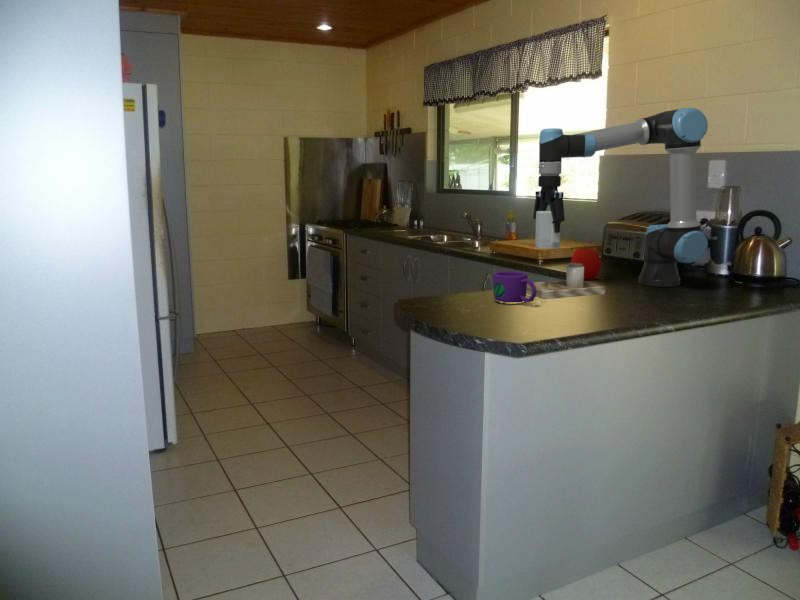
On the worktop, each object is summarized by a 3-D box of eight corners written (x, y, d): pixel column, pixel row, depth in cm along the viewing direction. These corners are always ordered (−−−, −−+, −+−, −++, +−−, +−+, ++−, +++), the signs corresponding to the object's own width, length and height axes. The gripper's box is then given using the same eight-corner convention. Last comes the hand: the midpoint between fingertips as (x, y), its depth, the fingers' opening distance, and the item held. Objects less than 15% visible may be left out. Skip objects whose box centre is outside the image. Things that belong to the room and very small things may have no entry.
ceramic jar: (576, 289, 237) (577, 262, 235) (586, 291, 231) (587, 264, 229) (562, 290, 235) (563, 263, 233) (572, 293, 229) (573, 265, 227)
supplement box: (560, 248, 222) (561, 212, 220) (538, 249, 222) (540, 212, 220) (555, 246, 230) (556, 210, 227) (534, 246, 230) (535, 210, 227)
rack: (575, 288, 244) (575, 279, 243) (604, 296, 227) (605, 287, 227) (516, 293, 235) (517, 283, 235) (543, 302, 219) (543, 292, 218)
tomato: (590, 277, 267) (591, 243, 264) (606, 282, 256) (608, 246, 254) (563, 279, 263) (564, 245, 260) (579, 284, 253) (581, 248, 250)
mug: (485, 301, 221) (486, 273, 219) (509, 297, 228) (509, 269, 226) (523, 310, 207) (524, 279, 205) (547, 305, 214) (548, 275, 212)
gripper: (523, 175, 230) (522, 238, 234) (558, 175, 210) (555, 244, 214) (542, 174, 232) (540, 237, 237) (577, 175, 212) (574, 243, 217)
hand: (547, 240), depth 225 cm, fingers closed on supplement box, 9 cm apart
